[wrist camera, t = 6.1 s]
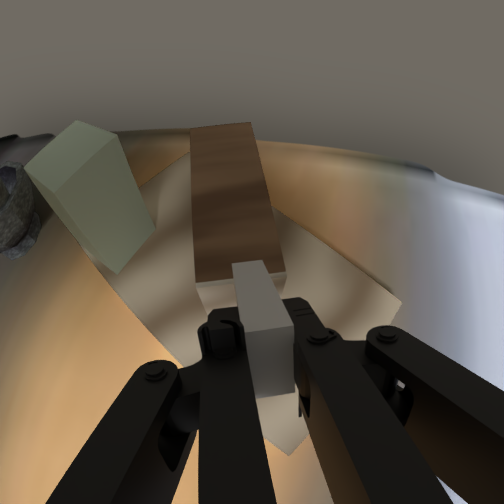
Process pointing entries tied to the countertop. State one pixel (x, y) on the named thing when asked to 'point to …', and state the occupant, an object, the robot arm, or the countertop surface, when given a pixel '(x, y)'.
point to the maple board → (193, 312)
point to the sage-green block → (93, 192)
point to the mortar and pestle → (17, 211)
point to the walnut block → (230, 212)
